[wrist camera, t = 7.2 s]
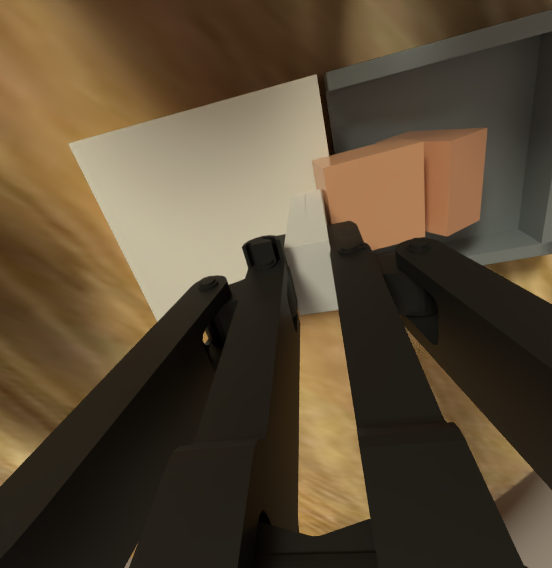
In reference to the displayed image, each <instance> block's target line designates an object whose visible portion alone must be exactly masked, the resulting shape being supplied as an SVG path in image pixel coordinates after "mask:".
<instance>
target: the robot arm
mask: <svg viewBox="0 0 552 568" xmlns="http://www.w3.org/2000/svg"><path fill="white" fill-rule="evenodd" d="M242 250H243V253H244V256H245V260H246V263H247V266H248V271H247V274H246V277H245V279H243V280H241V281H238V282H235V283H232V284H229V285H228V282H227V279H226V277H224V276H220V275H216V276H207V278H206V277H204V278H202V279H201V280H200V281H198V282H196V283H195V284H194V285H192V286H191V287H190V288H189V289H188V290H187V291H186V293H185V294H184V295H183V296H182V297H181V298H180V299H179V300H178V301H177V302H176V303H175V304H174V305H173V306H172V307H171V308H170V309H169V310H168V311H167V312H166V313H165V315H164V316H163V317H162V318H161V319H160V320H159V321H158V322H157V323H156V324H155V325H154V326H153V327H152V328H151V329H150V330H149V331H148V332H147V333H146V334H145V336H144V337H143V338H142V339H141V340H140V341H139V342H138V343H137V344H136V345H135V346H134V347H133V348H132V349H131V350H130V351H129V352H128V353H127V354H126V355H125V356H124V358H123V359H122V360H121V361H120V362H119V363H118V364H117V365H116V366H115V367H114V368H113V369H112V370H111V371H110V372H109V373H108V374H107V375H106V376H105V377H104V378H103V380H102V381H101V382H100V383H99V384H98V385H97V386H96V387H95V388H94V389H93V390H92V391H91V392H90V393H89V394H88V395H87V396H86V397H85V398H84V399H83V401H82V402H81V403H80V404H79V405H78V406H77V407H76V408H75V409H74V410H73V411H72V412H71V413H70V414H69V415H68V416H67V417H66V418H65V419H64V420H63V421H62V423H61V424H60V425H59V426H58V427H57V428H56V429H55V430H54V431H53V432H52V433H51V434H50V435H49V436H48V437H47V438H46V439H45V440H44V441H43V442H42V443H41V445H40V446H39V447H38V448H37V449H36V450H35V451H34V452H33V453H32V454H31V455H30V456H29V457H28V458H27V459H26V460H25V461H24V462H23V463H22V464H21V465H20V467H19V468H18V469H17V470H16V471H15V472H14V473H13V474H12V475H11V476H10V477H9V478H8V479H7V480H6V481H5V482H4V483H3V484H2V485H1V486H0V568H124V567H125V565H126V563H127V562H128V560H129V558H130V556H131V554H132V552H133V551H134V549H135V547H136V545H137V543H138V545H137V547H136V550H135V553H134V556H133V558H132V561H131V564H130V567H129V568H528V567H526V566H524V565H523V563H522V561H521V558H520V556H519V554H518V552H517V550H516V548H515V546H514V543H513V541H512V539H511V537H510V535H509V533H508V531H507V528H506V526H505V524H504V522H503V520H502V518H501V515H500V513H499V511H498V509H497V507H496V505H495V502H494V500H493V498H492V496H491V494H490V492H489V490H488V487H487V485H486V483H485V481H484V479H483V477H482V474H481V472H480V470H479V468H478V466H477V464H476V461H475V459H474V457H473V455H472V453H471V451H470V449H469V446H468V444H467V442H466V440H465V438H464V436H463V435H462V433H461V431H460V429H459V428H458V426H457V425H456V424H455V423H454V422H451V423H447V422H446V421H445V420H444V418H443V416H442V414H441V411H440V409H439V406H438V404H437V402H436V399H435V397H434V395H433V392H432V390H431V388H430V385H429V383H428V381H427V378H426V376H425V374H424V371H423V369H422V367H421V364H420V362H419V360H418V357H417V355H416V353H415V350H414V348H413V346H412V343H411V341H410V339H409V336H408V334H407V332H406V329H405V327H406V328H407V329H408V331H409V332H410V333H411V334H412V335H413V336H414V337H415V338H416V339H417V341H418V342H419V343H420V344H421V345H422V346H423V347H424V348H425V349H426V351H427V352H428V353H429V354H430V355H431V356H432V357H433V358H434V359H435V361H436V362H437V363H438V364H439V365H440V366H441V367H442V368H443V369H444V371H445V372H446V373H447V374H448V375H449V376H450V377H451V378H452V379H453V381H454V382H455V383H456V384H457V385H458V386H459V387H460V388H461V389H462V391H463V392H464V393H465V394H466V395H467V396H468V397H469V398H470V399H471V401H472V402H473V403H474V404H475V405H476V406H477V407H478V408H479V409H480V411H481V412H482V413H483V414H484V415H485V416H486V417H487V418H488V419H489V421H490V422H491V423H492V424H493V425H494V426H495V427H496V428H497V429H498V431H499V432H500V433H501V434H502V435H503V436H504V437H505V438H506V440H507V441H508V442H509V443H510V444H511V445H512V446H513V447H514V448H515V450H516V451H517V452H518V453H519V454H520V455H521V456H522V457H523V458H524V460H525V461H526V462H527V463H528V464H529V465H530V466H531V467H532V468H533V470H534V471H535V472H536V473H537V474H538V475H539V476H540V477H541V478H542V480H543V481H544V482H545V483H546V484H547V485H548V486H549V487H550V488H551V490H552V304H550V303H548V302H547V301H545V300H543V299H541V298H540V297H538V296H536V295H534V294H532V293H531V292H529V291H527V290H525V289H523V288H522V287H520V286H518V285H516V284H515V283H513V282H511V281H509V280H507V279H506V278H504V277H502V276H500V275H498V274H497V273H495V272H493V271H491V270H489V269H488V268H486V267H484V266H482V265H481V264H479V263H477V262H475V261H473V260H472V259H470V258H468V257H466V256H464V255H463V254H461V253H459V252H457V251H456V250H454V249H452V248H450V247H448V246H447V245H445V244H443V243H441V242H439V241H437V240H434V239H428V238H424V237H420V238H413V239H410V240H406V241H404V242H401V243H400V244H398V245H397V246H396V249H395V254H376V253H373V252H372V250H371V247H370V246H369V245H368V244H367V243H364V241H363V239H362V236H361V234H360V231H359V229H358V226H357V224H356V223H354V222H352V221H345V222H340V223H335V224H330V225H326V221H325V215H324V209H323V203H322V197H321V192H320V189H319V190H315V191H310V192H305V193H301V194H296V195H291V196H290V204H289V212H288V220H287V228H286V234H283V235H278V236H275V235H267V236H261V237H257V238H254V239H252V240H249V241H248V242H246V243H245V244H244V245H243V246H242ZM297 306H298V310H299V314H300V315H307V314H314V313H320V312H327V311H334V310H339V316H340V323H341V329H342V335H343V342H344V348H345V355H346V361H347V367H348V374H349V380H350V387H351V393H352V399H353V406H354V412H355V419H356V425H357V434H358V440H359V447H360V454H361V460H362V466H363V473H364V479H365V486H366V492H367V499H368V505H369V512H370V518H371V519H368V520H365V521H362V522H359V523H356V524H353V525H350V526H347V527H345V528H342V529H339V530H336V531H333V532H330V533H327V534H324V535H321V536H309V535H305V534H302V533H299V526H298V457H299V372H300V321H299V317H298V313H297ZM404 326H405V327H404ZM204 331H206V334H207V336H208V338H209V339H208V340H207V342H206V343H205V344H204V342H203V341H202V340H203V333H204Z"/></svg>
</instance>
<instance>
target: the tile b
mask: <svg viewBox="0 0 552 568" xmlns="http://www.w3.org/2000/svg"><path fill="white" fill-rule="evenodd" d="M487 129H488V128H467V129H446V130H425V131H408V132H405V133H402V134H399V135H397V136H394V137H391V138H388V139H385V140H382V141H379V142H376V143H380V142H384V141H388V140H391V139H395V138H405V139H411V140H417V141H423V142H424V195H425V231H426V232H430V233H434V234H438V235H442V236H447V237H448V236H449V235H451V234H453V233H455V232H457V231H459V230H461V229H463V228H465V227H467V226H469V225H471V224H473V223H475V222H477V221H479V220H480V210H481V198H482V187H483V175H484V164H485V152H486V140H487Z"/></svg>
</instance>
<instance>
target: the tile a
mask: <svg viewBox="0 0 552 568" xmlns="http://www.w3.org/2000/svg"><path fill="white" fill-rule="evenodd" d="M312 166H313V172H314V177H315V183H316V189H317V190H319V189H320V192H321V197H322V203H323V209H324V215H325V221H326V225H330V224H335V223H340V222H345V221H352V222H354V223H356V224H357V226H358V229H359V231H360V234H361V236H362V239H363V241H364V243H367V244H368V245H369V246H370V247H371V250H376V249H380V248H384V247H388V246H392V245H396V244H399V243H401V242H404V241H406V240H410V239H413V238H420V237H425V195H424V142H423V141H417V140H411V139H405V138H395V139H391V140H388V141H384V142H380V143H376V144H372V145H369V146H365V147H361V148H357V149H353V150H350V151H346V152H342V153H338V154H334V155H331V156H327V157H323V158H319V159H315V160H312Z"/></svg>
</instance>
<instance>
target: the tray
mask: <svg viewBox="0 0 552 568" xmlns="http://www.w3.org/2000/svg"><path fill="white" fill-rule="evenodd" d="M323 80H324V87H325V94H326V101H327V108H328V115H329V122H330V129H331V136H332V143H333V150H334V154H338V153H342V152H346V151H350V150H353V149H357V148H361V147H365V146H369V145H372V144H376V142H379V141H382V140H385V139H388V138H391V137H394V136H397V135H399V134H402V133H405V132H408V131H425V130H446V129H467V128H488V129H487V140H486V152H485V164H484V175H483V187H482V198H481V210H480V220H479V221H477V222H475V223H473V224H471V225H469V226H467V227H465V228H463V229H461V230H459V231H457V232H455V233H453V234H451V235H449V236H448V237H447V236H442V235H438V234H434V233H430V232H426V231H425V237H424V238H428V239H434V240H437V241H439V242H441V243H443V244H445V245H447V246H448V247H450V248H452V249H454V250H456V251H457V252H459V253H461V254H463V255H464V256H466V257H468V258H470V259H472V260H473V261H475V262H477V263H479V264H481V265H487V264H493V263H499V262H505V261H511V260H518V259H524V258H530V257H536V256H542V255H548V254H552V9H551V10H548V11H544V12H540V13H537V14H533V15H530V16H526V17H523V18H519V19H515V20H512V21H508V22H505V23H501V24H497V25H494V26H490V27H487V28H483V29H479V30H476V31H472V32H469V33H465V34H462V35H458V36H454V37H451V38H447V39H444V40H440V41H436V42H433V43H429V44H426V45H422V46H419V47H415V48H411V49H408V50H404V51H401V52H397V53H393V54H390V55H386V56H383V57H379V58H376V59H372V60H368V61H365V62H361V63H358V64H354V65H350V66H347V67H343V68H340V69H336V70H332V71H329V72H326V73H325V74H323ZM399 244H400V243H399ZM397 245H398V244H396V245H392V246H388V247H384V248H380V249H376V250H372V252H373V253H376V254H395V249H396V246H397Z"/></svg>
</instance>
